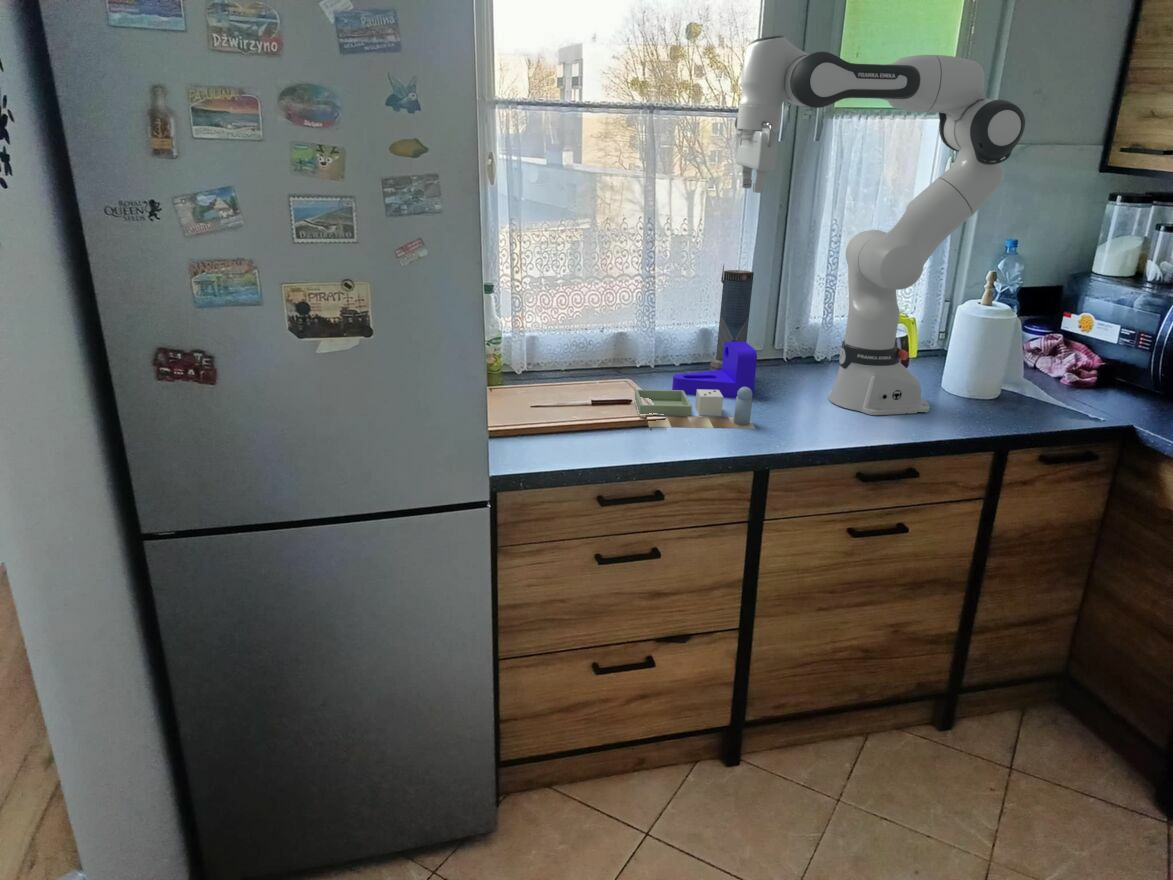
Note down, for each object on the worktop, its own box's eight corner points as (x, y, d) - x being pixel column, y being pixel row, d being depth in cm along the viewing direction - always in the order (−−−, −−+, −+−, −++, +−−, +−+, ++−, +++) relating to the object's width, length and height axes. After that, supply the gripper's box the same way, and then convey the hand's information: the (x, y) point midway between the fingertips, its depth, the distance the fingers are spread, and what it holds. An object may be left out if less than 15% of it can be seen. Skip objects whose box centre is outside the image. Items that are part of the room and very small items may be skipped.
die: (716, 410, 197) (718, 388, 195) (721, 418, 192) (723, 396, 191) (694, 410, 197) (696, 388, 195) (698, 418, 192) (700, 395, 190)
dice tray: (682, 402, 202) (683, 390, 201) (690, 418, 191) (691, 406, 190) (634, 401, 201) (634, 389, 200) (639, 417, 191) (640, 405, 190)
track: (748, 419, 192) (748, 417, 192) (755, 431, 185) (755, 428, 185) (645, 418, 190) (646, 415, 190) (649, 429, 184) (650, 426, 184)
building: (709, 384, 215) (720, 261, 205) (706, 373, 224) (717, 255, 213) (751, 386, 215) (764, 263, 204) (746, 375, 224) (759, 257, 213)
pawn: (747, 420, 190) (751, 384, 187) (751, 425, 187) (755, 389, 184) (732, 419, 190) (735, 384, 187) (735, 425, 187) (739, 389, 184)
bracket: (738, 386, 215) (743, 339, 211) (752, 400, 205) (757, 351, 201) (666, 387, 212) (670, 339, 208) (677, 401, 202) (681, 352, 198)
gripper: (788, 123, 173) (780, 195, 178) (761, 120, 192) (754, 186, 197) (756, 122, 172) (749, 194, 177) (732, 119, 191) (726, 185, 196)
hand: (751, 190), depth 187 cm, fingers open, 8 cm apart
